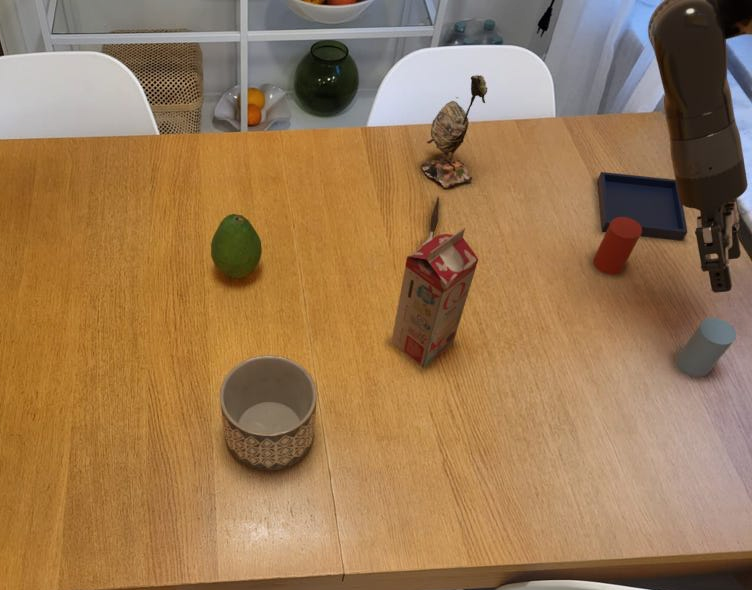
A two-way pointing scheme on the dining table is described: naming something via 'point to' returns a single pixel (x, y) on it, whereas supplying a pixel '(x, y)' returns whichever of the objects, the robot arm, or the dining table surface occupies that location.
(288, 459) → the planter
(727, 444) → the dining table surface
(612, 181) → the blue tray
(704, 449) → the dining table surface
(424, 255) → the juice carton
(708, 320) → the blue pin
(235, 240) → the fruit
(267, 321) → the dining table surface
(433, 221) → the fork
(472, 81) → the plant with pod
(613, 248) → the red cylinder
